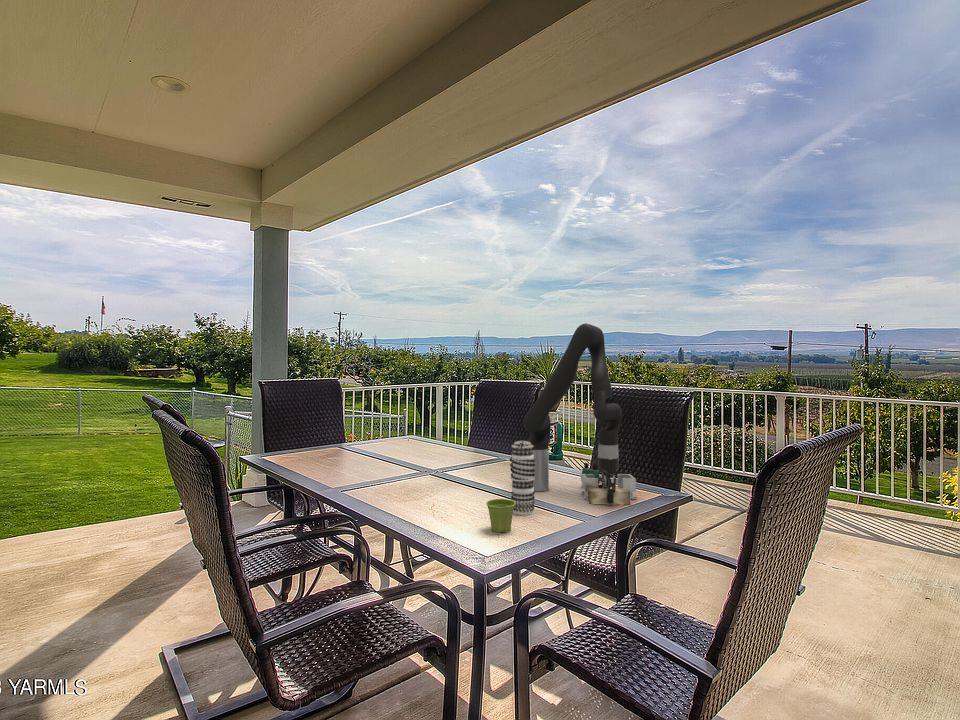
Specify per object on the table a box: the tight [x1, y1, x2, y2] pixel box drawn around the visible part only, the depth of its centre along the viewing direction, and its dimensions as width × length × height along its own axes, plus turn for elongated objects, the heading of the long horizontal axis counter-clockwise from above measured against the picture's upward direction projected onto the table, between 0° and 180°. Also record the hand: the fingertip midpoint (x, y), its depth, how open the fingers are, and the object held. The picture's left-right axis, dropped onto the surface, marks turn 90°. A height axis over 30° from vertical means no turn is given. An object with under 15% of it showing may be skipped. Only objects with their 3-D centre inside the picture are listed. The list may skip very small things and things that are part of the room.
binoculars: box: [580, 462, 605, 489], centre depth 211 cm, size 9×11×10 cm
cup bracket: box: [580, 473, 638, 500], centre depth 197 cm, size 20×8×8 cm, turn 88°
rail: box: [587, 488, 631, 506], centre depth 187 cm, size 15×4×5 cm, turn 88°
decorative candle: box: [509, 440, 536, 516], centre depth 178 cm, size 9×9×25 cm
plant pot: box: [485, 498, 516, 533], centre depth 158 cm, size 9×9×9 cm
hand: (608, 500), depth 187 cm, fingers open, 5 cm apart
